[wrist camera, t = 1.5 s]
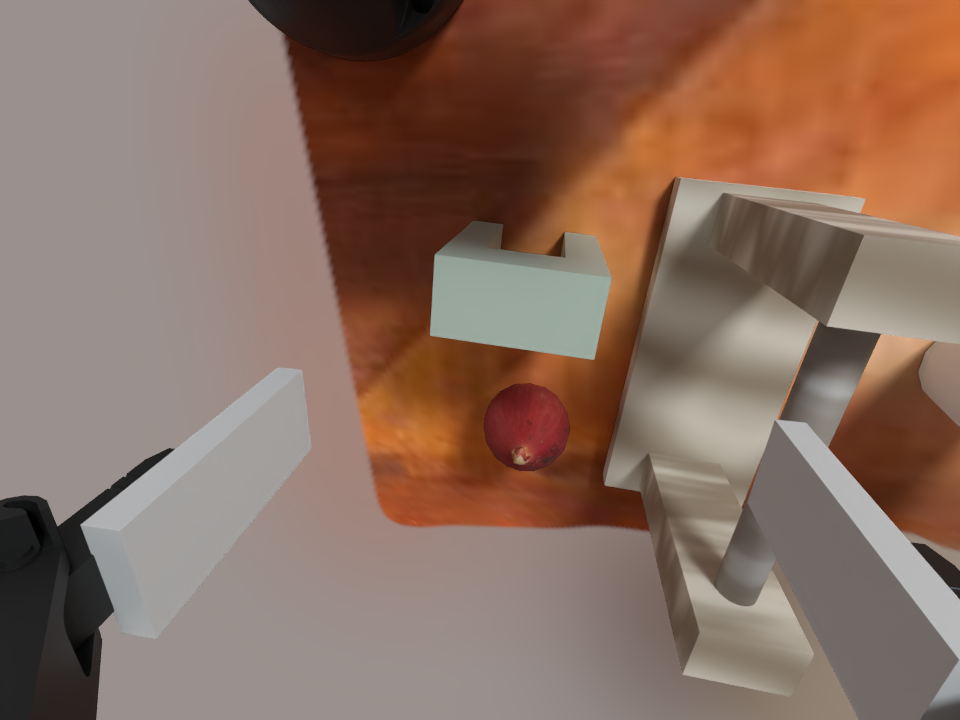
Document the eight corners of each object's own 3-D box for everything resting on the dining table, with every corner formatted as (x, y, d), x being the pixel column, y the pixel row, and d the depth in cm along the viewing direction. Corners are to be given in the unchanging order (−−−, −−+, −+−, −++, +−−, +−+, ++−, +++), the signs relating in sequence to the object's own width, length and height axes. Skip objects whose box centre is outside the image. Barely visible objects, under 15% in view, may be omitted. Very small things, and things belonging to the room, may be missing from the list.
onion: (584, 397, 36) (590, 460, 29) (536, 446, 39) (530, 516, 31) (522, 350, 36) (512, 403, 28) (476, 404, 38) (456, 465, 31)
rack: (675, 176, 30) (785, 208, 15) (851, 196, 29) (1146, 250, 14) (602, 473, 39) (627, 670, 24) (734, 495, 38) (842, 714, 23)
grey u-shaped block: (473, 220, 32) (434, 254, 23) (595, 235, 32) (611, 277, 22) (468, 279, 34) (429, 335, 24) (584, 295, 33) (594, 360, 23)
